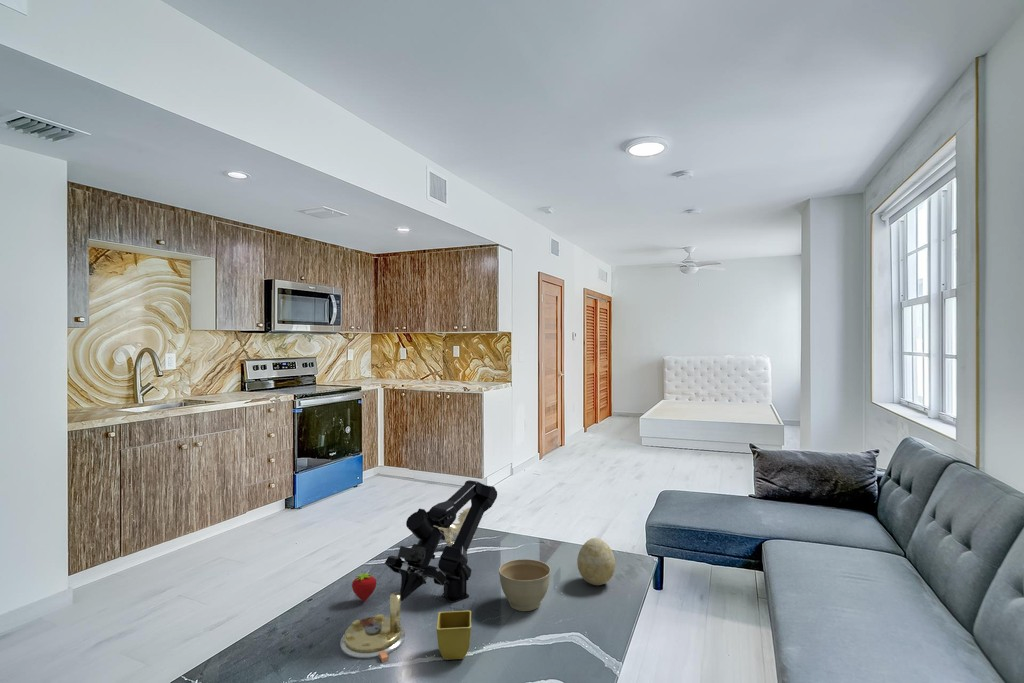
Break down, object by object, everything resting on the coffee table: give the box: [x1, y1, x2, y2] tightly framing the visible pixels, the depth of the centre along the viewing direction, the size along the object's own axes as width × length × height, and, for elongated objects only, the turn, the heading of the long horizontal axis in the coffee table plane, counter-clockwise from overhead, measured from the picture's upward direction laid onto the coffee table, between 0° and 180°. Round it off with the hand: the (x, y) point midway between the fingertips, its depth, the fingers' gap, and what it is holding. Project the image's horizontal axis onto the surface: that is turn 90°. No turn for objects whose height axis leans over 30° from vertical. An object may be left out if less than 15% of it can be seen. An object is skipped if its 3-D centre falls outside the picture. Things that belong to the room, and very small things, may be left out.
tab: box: [378, 651, 389, 663], centre depth 129 cm, size 3×2×1 cm, turn 31°
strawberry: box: [351, 571, 378, 602], centre depth 159 cm, size 6×8×10 cm
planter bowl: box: [498, 558, 552, 612], centre depth 157 cm, size 16×16×11 cm
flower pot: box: [436, 610, 472, 661], centre depth 131 cm, size 9×9×9 cm
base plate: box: [339, 623, 406, 660], centre depth 138 cm, size 17×17×4 cm
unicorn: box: [434, 507, 476, 546], centre depth 202 cm, size 20×4×17 cm, turn 111°
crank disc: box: [343, 592, 402, 653], centre depth 138 cm, size 15×15×11 cm
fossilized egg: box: [576, 537, 616, 586], centre depth 171 cm, size 13×13×15 cm
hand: (400, 600), depth 140 cm, fingers closed
